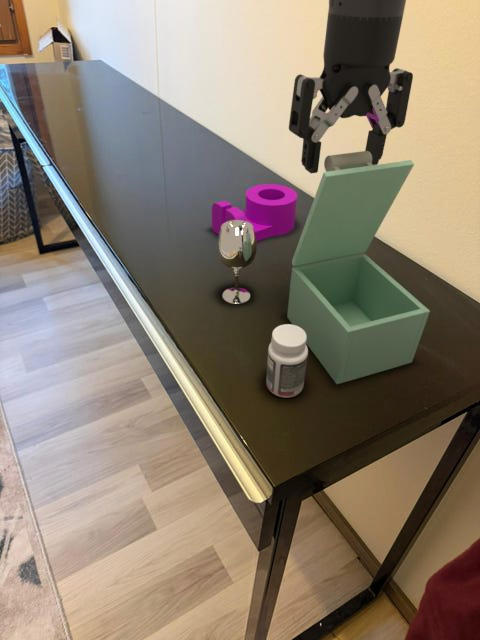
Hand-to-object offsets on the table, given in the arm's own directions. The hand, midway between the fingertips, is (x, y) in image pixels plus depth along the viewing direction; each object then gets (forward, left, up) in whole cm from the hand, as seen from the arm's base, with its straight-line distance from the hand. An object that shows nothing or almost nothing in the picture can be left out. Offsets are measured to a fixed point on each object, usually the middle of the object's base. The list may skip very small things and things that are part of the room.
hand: (341, 167), depth 56 cm
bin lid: (-4, 0, -6) cm, 7 cm away
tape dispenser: (+27, -1, -22) cm, 35 cm away
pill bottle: (-13, +12, -22) cm, 28 cm away
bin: (-8, 0, -22) cm, 23 cm away
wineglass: (+7, +11, -22) cm, 26 cm away
